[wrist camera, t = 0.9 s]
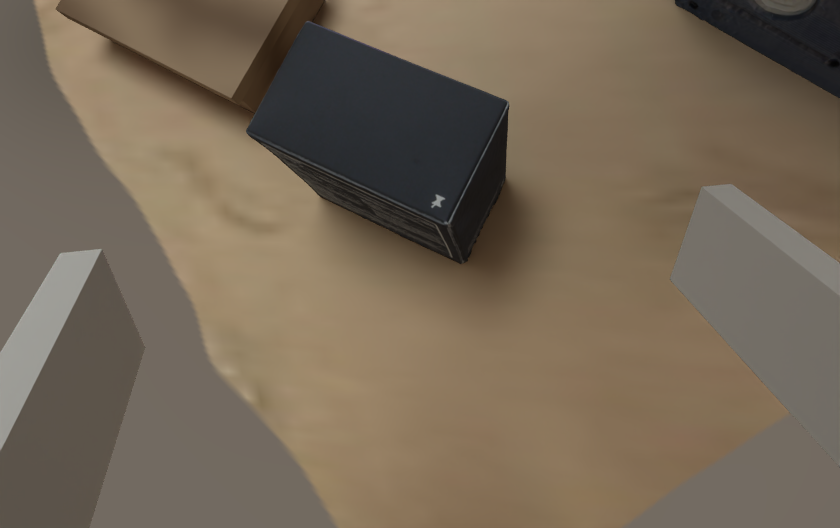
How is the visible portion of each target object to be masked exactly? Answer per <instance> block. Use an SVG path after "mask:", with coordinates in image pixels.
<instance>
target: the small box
mask: <svg viewBox="0 0 840 528" xmlns="http://www.w3.org/2000/svg"><path fill="white" fill-rule="evenodd" d="M508 110H509V102H508V101H506V100H504V99H501V98H499V97H496V96H494V95H491V94H489V93H487V92H484V91H481V90H479V89H476V88H474V87H471V86H469V85H466V84H464V83H461V82H459V81H456V80H454V79H451V78H449V77H446V76H443V75H441V74H438V73H436V72H433V71H431V70H428V69H426V68H423V67H421V66H418V65H416V64H413V63H411V62H408V61H406V60H403V59H401V58H398V57H396V56H393V55H391V54H389V53H386V52H384V51H381V50H379V49H376V48H374V47H371V46H369V45H366V44H364V43H361V42H359V41H356V40H354V39H351V38H349V37H347V36H344V35H342V34H339V33H337V32H335V31H332V30H330V29H327V28H325V27H322V26H320V25H317V24H315V23H312V22H310V21H307V22H306V23H305V24H304V26H303V27H302V29H301V30H300V32H299V34H298V35H297V37H296V39H295V41H294V43H293V44H292V46H291V48H290V50H289V51H288V54H287V56H286V57H285V59H284V61H283V63H282V65H281V67H280V68H279V70H278V72H277V74H276V76H275V78H274V80H273V82H272V83H271V85H270V87H269V89H268V91H267V93H266V94H265V96H264V98H263V100H262V102H261V104H260V105H259V107H258V109H257V111H256V113H255V115H254V117H253V119H252V120H251V122H250V124H249V126H248V128H247V130H246V132H247V134H248V135H249V136H250V137H251V138H253V139H254V140H256V141H257V142H259V143H260V144H261V145H263V146H264V147H266V148H267V149H268V150H269V151H270V152H272V153H273V154H274V155H275V156H277V157H278V158H279V159H280V160H281V161H282V162H283V163H284V164H286V165H287V166H288V167H289V168H290V169H291V170H292V171H294V172H295V173H296V174H297V175H298V176H299V177H300V178H302V179H303V180H304V181H305V182H306V183H307V184H308V185H309V186H310V187H311V188H312V189H313V190H314V191H315V192H316V193H317V194H318V195H319V196H320V197H322V198H325V199H327V200H329V201H331V202H333V203H335V204H337V205H339V206H341V207H343V208H345V209H347V210H349V211H351V212H354V213H356V214H358V215H360V216H362V217H363V218H365V219H368V220H370V221H372V222H374V223H376V224H378V225H380V226H383V227H385V228H387V229H389V230H391V231H393V232H395V233H397V234H399V235H400V236H402V237H404V238H407V239H409V240H411V241H414V242H416V243H417V244H420V245H422V246H423V247H426V248H428V249H430V250H432V251H435V252H437V253H439V254H441V255H443V256H446V257H448V258H450V259H452V260H454V261H456V262H458V263H460V264H462V263H464V262H466V261H468V257H469V256H470V254H471V250H472V247H473V245H474V243H476V239H477V237H478V236H479V233H480V230H481V229H482V227H483V224H484V223H485V220H486V218H487V217H488V216H489V213H490V210H491V209H492V206H493V205H494V204H495V203H496V201H497V199H498V196H499V194H500V191H501V189H502V185H503V184H504V182H505V179H506V149H507V131H508Z"/></svg>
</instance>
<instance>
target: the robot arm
mask: <svg viewBox="0 0 840 528" xmlns="http://www.w3.org/2000/svg"><path fill="white" fill-rule="evenodd" d="M670 280H671V281H672V282H673V284H674V285H675V286H676V287H677V288H678V289H679V290H680V291H681V292H682V294H683V295H684V296H685V297H686V298H687V299H688V300H689V301H690V302H691V304H692V305H693V306H694V307H695V308H696V309H697V310H698V311H699V312H700V313H701V315H702V316H703V317H704V318H705V319H706V320H707V321H708V322H709V323H710V325H711V326H712V327H713V328H714V329H715V330H716V331H717V332H718V333H719V334H720V336H721V337H722V338H723V339H724V340H725V341H726V342H727V343H728V344H729V346H730V347H731V348H732V349H733V350H734V351H735V352H736V353H737V354H738V356H739V357H740V358H741V359H742V360H743V361H744V362H745V363H746V364H747V365H748V367H749V368H750V369H751V370H752V371H753V372H754V373H755V374H756V375H757V377H758V378H759V379H760V380H761V381H762V382H763V383H764V384H765V385H766V386H767V388H768V389H769V390H770V391H771V392H772V393H773V394H774V395H775V396H776V398H777V399H778V400H779V401H780V402H781V403H782V404H783V405H784V406H785V408H786V409H787V410H788V411H789V412H790V413H791V414H792V415H793V416H794V417H795V419H796V420H797V421H798V422H799V423H800V424H801V425H802V426H803V427H804V429H805V430H807V432H808V433H809V434H810V435H811V436H812V437H813V438H814V440H815V441H816V442H817V443H818V444H819V445H820V446H821V447H822V448H823V450H824V451H825V452H826V453H827V454H828V455H829V456H830V457H831V458H832V459H833V461H834V462H835V463H836V464H837V465H838V466H839V467H840V263H839V262H838V261H836V260H835V259H833V258H832V257H831V256H829V255H828V254H827V253H825V252H824V251H822V250H821V249H820V248H818V247H817V246H816V245H814V244H813V243H812V242H810V241H809V240H807V239H806V238H805V237H803V236H802V235H801V234H799V233H798V232H796V231H795V230H794V229H792V228H791V227H790V226H788V225H787V224H786V223H784V222H783V221H781V220H780V219H779V218H777V217H776V216H775V215H773V214H772V213H771V212H769V211H768V210H766V209H765V208H764V207H762V206H761V205H760V204H758V203H757V202H755V201H754V200H753V199H751V198H750V197H749V196H747V195H746V194H745V193H743V192H742V191H740V190H739V189H738V188H736V187H735V186H734V185H732V184H724V185H714V186H705V187H701V190H700V193H699V196H698V199H697V202H696V205H695V208H694V211H693V213H692V216H691V219H690V222H689V225H688V228H687V231H686V234H685V237H684V239H683V242H682V245H681V248H680V251H679V254H678V257H677V260H676V263H675V266H674V268H673V271H672V274H671V277H670ZM144 350H145V346H144V344H143V341H142V339H141V337H140V335H139V332H138V330H137V328H136V325H135V323H134V321H133V318H132V316H131V314H130V312H129V309H128V307H127V305H126V303H125V300H124V298H123V296H122V293H121V291H120V289H119V287H118V284H117V282H116V280H115V278H114V275H113V273H112V271H111V268H110V266H109V264H108V262H107V259H106V257H105V255H104V253H103V250H102V249H97V250H88V251H77V252H68V253H60V255H59V256H58V258H57V260H56V262H55V263H54V265H53V267H52V268H51V270H50V272H49V273H48V275H47V276H46V278H45V280H44V281H43V283H42V284H41V286H40V288H39V289H38V291H37V293H36V294H35V296H34V298H33V299H32V301H31V303H30V305H29V306H28V308H27V309H26V311H25V313H24V314H23V316H22V318H21V319H20V321H19V323H18V324H17V326H16V328H15V329H14V331H13V333H12V334H11V336H10V338H9V339H8V341H7V342H6V344H5V346H4V347H3V349H2V351H1V352H0V528H89V527H90V524H91V521H92V517H93V514H94V511H95V508H96V504H97V501H98V498H99V495H100V491H101V488H102V485H103V482H104V479H105V475H106V472H107V469H108V466H109V463H110V459H111V456H112V453H113V450H114V446H115V443H116V440H117V437H118V433H119V430H120V427H121V424H122V421H123V417H124V414H125V411H126V407H127V405H128V401H129V398H130V395H131V391H132V388H133V385H134V382H135V379H136V375H137V372H138V369H139V366H140V363H141V359H142V356H143V353H144Z"/></svg>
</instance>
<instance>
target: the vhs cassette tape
mask: <svg viewBox="0 0 840 528" xmlns="http://www.w3.org/2000/svg"><path fill="white" fill-rule="evenodd" d="M675 4H676V5H677V6H679V7H681V8H683V9H685V10H687V11H689V12H691V13H692V14H694V15H696V16H697V17H698V18H699V19H701V20H705V21H707V22H708V23H709V24H711V25H712V26H714V27H716V28H718V29H719V30H721V31H723V32H725V33H726V34H728V35H730V36H732V37H734V38H735V39H737V40H739V41H740V42H742V43H744V44H745V45H747V46H749V47H751V48H752V49H754V50H756V51H758V52H759V53H761V54H763V55H765V56H766V57H768V58H770V59H772V60H773V61H775V62H777V63H779V64H781V65H782V66H784V67H786V68H788V69H789V70H791V71H792V72H794V73H796V74H798V75H800V76H802V77H803V78H805V79H807V80H809V81H810V82H812V83H814V84H815V85H817V86H819V87H821V88H822V89H824V90H826V91H828V92H830V93H831V94H833V95H835V96H836V97H838V98H840V0H675Z"/></svg>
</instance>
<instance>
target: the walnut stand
mask: <svg viewBox="0 0 840 528" xmlns="http://www.w3.org/2000/svg"><path fill="white" fill-rule="evenodd" d="M323 2H324V0H61V1H60V2H59V4H58V6H57V7H56V10H57V11H59V12H60V13H61V14H63V15H64V16H65V17H67V18H68V19H70V20H72V21H74V22H76V23H78V24H80V25H82V26H84V27H86V28H88V29H90V30H92V31H94V32H96V33H98V34H100V35H102V36H104V37H106V38H108V39H109V40H111V41H113V42H115V43H117V44H119V45H121V46H123V47H125V48H127V49H129V50H131V51H133V52H135V53H137V54H139V55H141V56H143V57H145V58H147V59H149V60H151V61H153V62H155V63H157V64H159V65H161V66H162V67H164V68H166V69H168V70H170V71H172V72H174V73H176V74H178V75H180V76H182V77H184V78H186V79H188V80H190V81H192V82H194V83H196V84H198V85H200V86H202V87H204V88H206V89H208V90H210V91H212V92H214V93H215V94H217V95H219V96H221V97H223V98H225V99H227V100H229V101H231V102H233V103H235V104H237V105H239V106H241V107H243V108H245V109H247V110H249V111H251V112H253V113H256V111H257V109H258V107H259V105H260V104H261V102H262V100H263V98H264V96H265V94H266V93H267V91H268V89H269V87H270V85H271V83H272V82H273V80H274V78H275V76H276V74H277V72H278V70H279V68H280V67H281V65H282V63H283V61H284V59H285V57H286V56H287V54H288V51H289V50H290V48H291V46H292V44H293V43H294V41H295V39H296V37H297V35H298V34H299V32H300V30H301V29H302V27H303V26H304V24H305V23H306V22H307V21H310V22H312V21H313V19H314V18H315V16H316V14H317V12H318V11H319V9H320V7H321V5H322V4H323Z"/></svg>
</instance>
